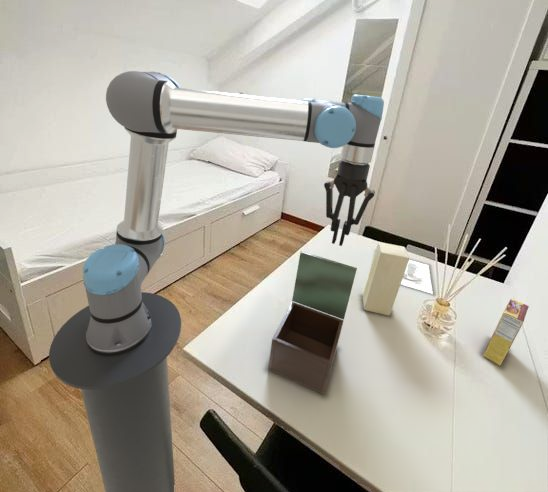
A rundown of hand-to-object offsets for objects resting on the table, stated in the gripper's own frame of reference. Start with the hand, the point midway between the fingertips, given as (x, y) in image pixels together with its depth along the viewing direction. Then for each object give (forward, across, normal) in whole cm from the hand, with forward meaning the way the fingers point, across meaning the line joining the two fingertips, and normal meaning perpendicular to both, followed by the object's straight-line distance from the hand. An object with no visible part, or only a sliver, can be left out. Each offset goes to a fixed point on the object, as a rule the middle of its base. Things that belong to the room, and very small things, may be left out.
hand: (337, 242), depth 82 cm
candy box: (+23, -47, -5) cm, 52 cm away
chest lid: (+5, 0, +15) cm, 16 cm away
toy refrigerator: (+23, -15, -8) cm, 28 cm away
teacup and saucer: (+23, -23, -34) cm, 47 cm away
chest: (+22, 0, +22) cm, 31 cm away
